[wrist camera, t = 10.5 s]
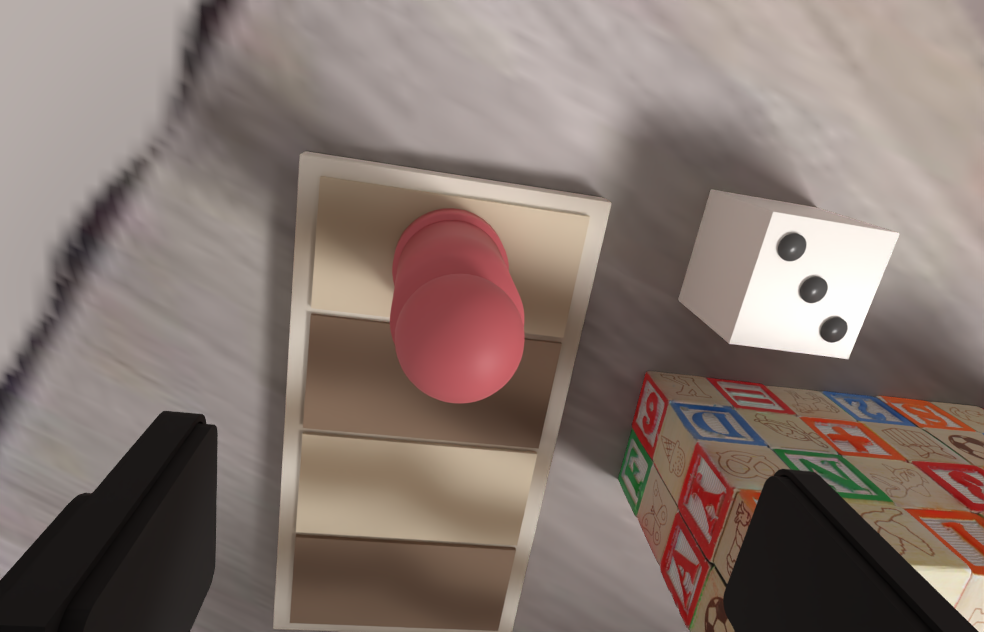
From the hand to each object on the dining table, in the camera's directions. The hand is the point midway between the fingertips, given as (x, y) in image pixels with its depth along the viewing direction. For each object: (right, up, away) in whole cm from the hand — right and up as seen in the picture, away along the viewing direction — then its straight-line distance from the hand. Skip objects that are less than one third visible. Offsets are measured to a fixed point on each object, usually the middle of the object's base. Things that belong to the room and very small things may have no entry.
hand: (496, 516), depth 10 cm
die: (+11, +6, +17) cm, 21 cm away
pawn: (-2, +5, +14) cm, 15 cm away
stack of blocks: (+17, -3, +21) cm, 27 cm away
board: (-3, -2, +18) cm, 18 cm away
